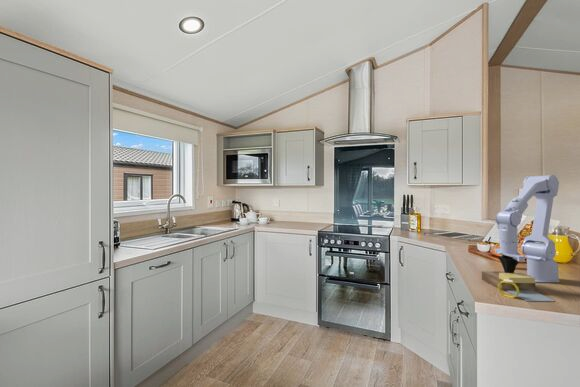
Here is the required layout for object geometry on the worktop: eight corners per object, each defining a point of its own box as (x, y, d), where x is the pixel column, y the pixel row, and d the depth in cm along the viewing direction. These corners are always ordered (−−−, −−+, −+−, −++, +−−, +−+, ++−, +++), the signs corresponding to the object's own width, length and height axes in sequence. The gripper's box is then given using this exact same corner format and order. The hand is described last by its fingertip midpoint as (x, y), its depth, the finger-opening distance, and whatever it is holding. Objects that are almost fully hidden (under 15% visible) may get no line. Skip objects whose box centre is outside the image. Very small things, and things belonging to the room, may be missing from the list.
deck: (511, 279, 119) (511, 271, 119) (535, 290, 106) (535, 281, 106) (481, 279, 120) (481, 271, 120) (501, 290, 107) (501, 281, 107)
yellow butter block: (523, 278, 110) (523, 273, 110) (535, 283, 104) (535, 277, 104) (499, 277, 111) (498, 272, 111) (509, 282, 105) (509, 277, 105)
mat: (531, 290, 106) (531, 289, 106) (555, 301, 95) (555, 300, 95) (506, 290, 106) (506, 289, 106) (526, 301, 96) (526, 300, 96)
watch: (519, 298, 100) (520, 282, 99) (517, 300, 98) (518, 284, 97) (499, 292, 104) (500, 277, 104) (496, 294, 103) (497, 278, 102)
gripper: (486, 238, 119) (487, 270, 119) (510, 244, 104) (510, 281, 104) (504, 238, 118) (505, 270, 118) (530, 244, 104) (531, 281, 104)
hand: (509, 275), depth 111 cm, fingers closed
